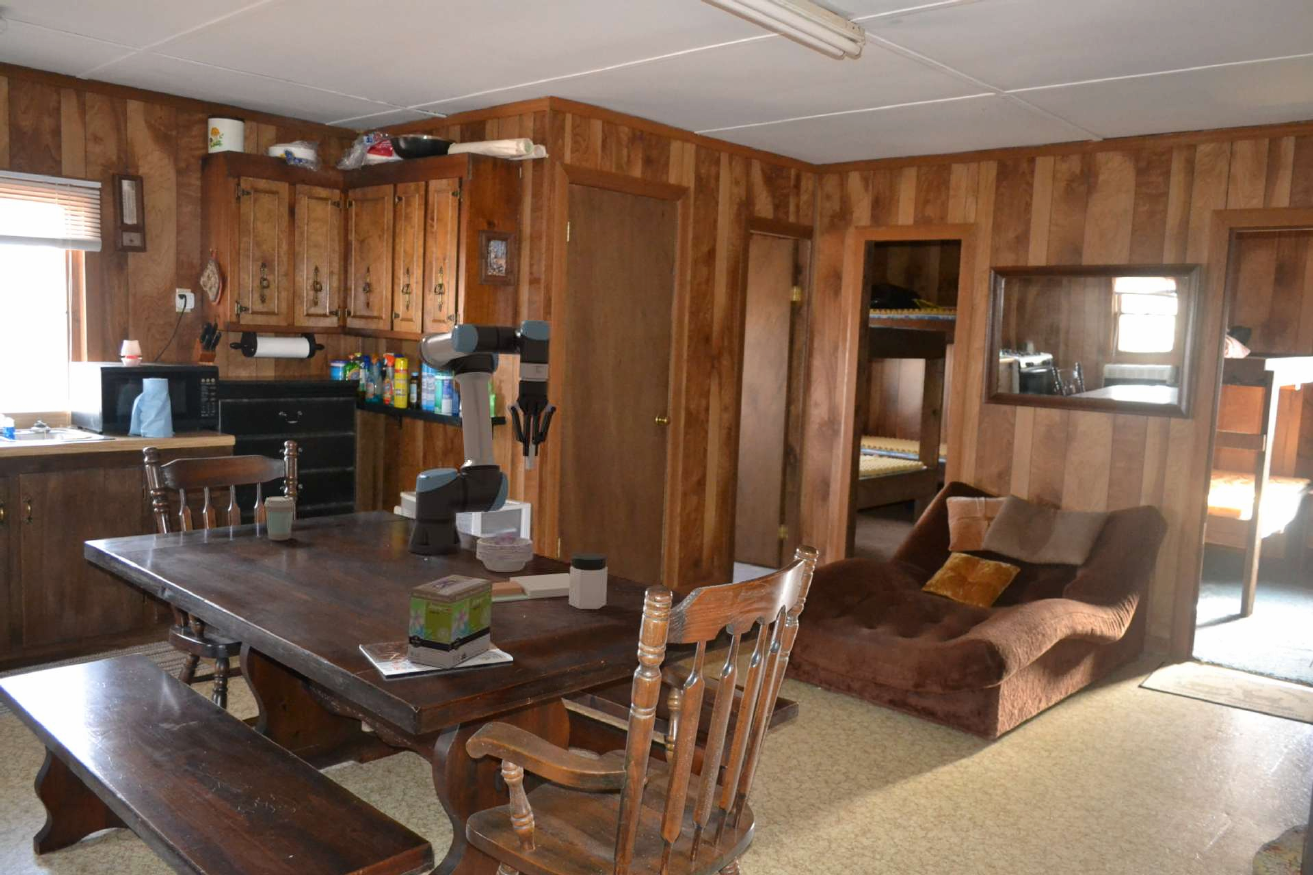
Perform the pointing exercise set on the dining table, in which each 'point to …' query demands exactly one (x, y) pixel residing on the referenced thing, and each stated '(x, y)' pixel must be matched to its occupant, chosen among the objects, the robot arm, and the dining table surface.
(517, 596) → the mat
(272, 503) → the coffee cup
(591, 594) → the jar
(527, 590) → the pale grey flat slab
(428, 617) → the tea box
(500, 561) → the paper bowls
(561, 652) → the dining table surface
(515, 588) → the tile
